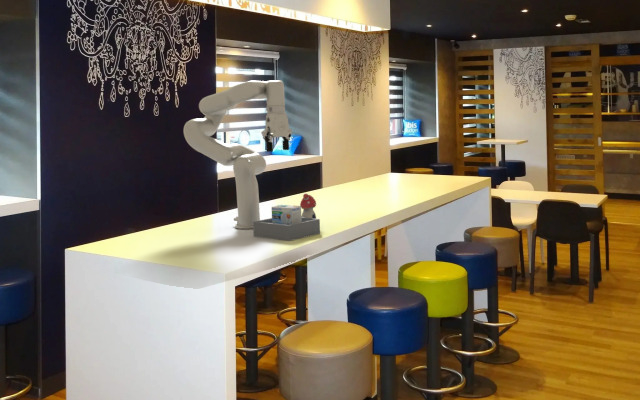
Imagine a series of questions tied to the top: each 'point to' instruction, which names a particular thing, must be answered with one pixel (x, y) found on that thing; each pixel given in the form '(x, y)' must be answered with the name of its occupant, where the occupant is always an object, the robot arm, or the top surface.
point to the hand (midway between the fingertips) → (277, 150)
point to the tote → (286, 229)
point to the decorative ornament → (308, 206)
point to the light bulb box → (286, 214)
